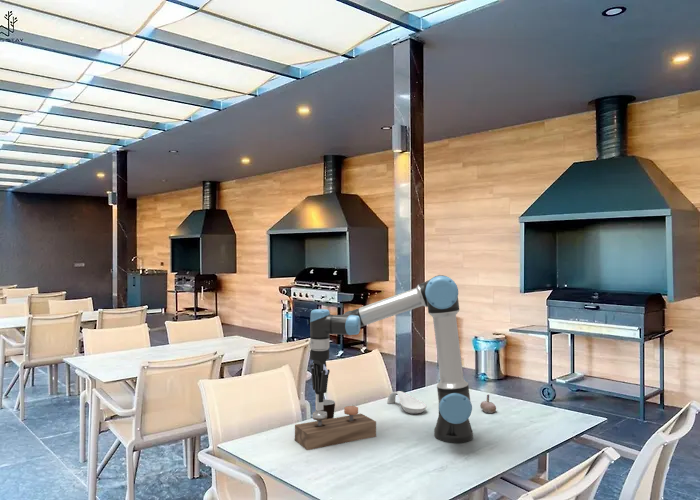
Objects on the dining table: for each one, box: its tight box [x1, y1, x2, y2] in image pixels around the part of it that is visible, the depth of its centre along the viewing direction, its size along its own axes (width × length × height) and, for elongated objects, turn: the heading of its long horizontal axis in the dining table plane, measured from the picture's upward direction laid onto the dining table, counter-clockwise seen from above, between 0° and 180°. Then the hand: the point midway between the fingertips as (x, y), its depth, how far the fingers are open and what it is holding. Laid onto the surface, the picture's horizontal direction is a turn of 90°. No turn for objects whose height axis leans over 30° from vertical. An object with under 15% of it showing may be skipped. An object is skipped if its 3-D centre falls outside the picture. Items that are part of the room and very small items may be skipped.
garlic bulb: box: [480, 394, 497, 414], centre depth 238 cm, size 8×7×8 cm
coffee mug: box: [314, 398, 336, 421], centre depth 220 cm, size 12×9×10 cm
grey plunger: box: [312, 410, 327, 427], centre depth 200 cm, size 6×6×8 cm
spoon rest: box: [386, 390, 428, 415], centre depth 243 cm, size 24×12×7 cm, turn 33°
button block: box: [294, 413, 377, 451], centre depth 203 cm, size 12×30×6 cm, turn 119°
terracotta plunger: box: [343, 405, 359, 422], centre depth 206 cm, size 6×6×8 cm
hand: (319, 409), depth 200 cm, fingers closed
